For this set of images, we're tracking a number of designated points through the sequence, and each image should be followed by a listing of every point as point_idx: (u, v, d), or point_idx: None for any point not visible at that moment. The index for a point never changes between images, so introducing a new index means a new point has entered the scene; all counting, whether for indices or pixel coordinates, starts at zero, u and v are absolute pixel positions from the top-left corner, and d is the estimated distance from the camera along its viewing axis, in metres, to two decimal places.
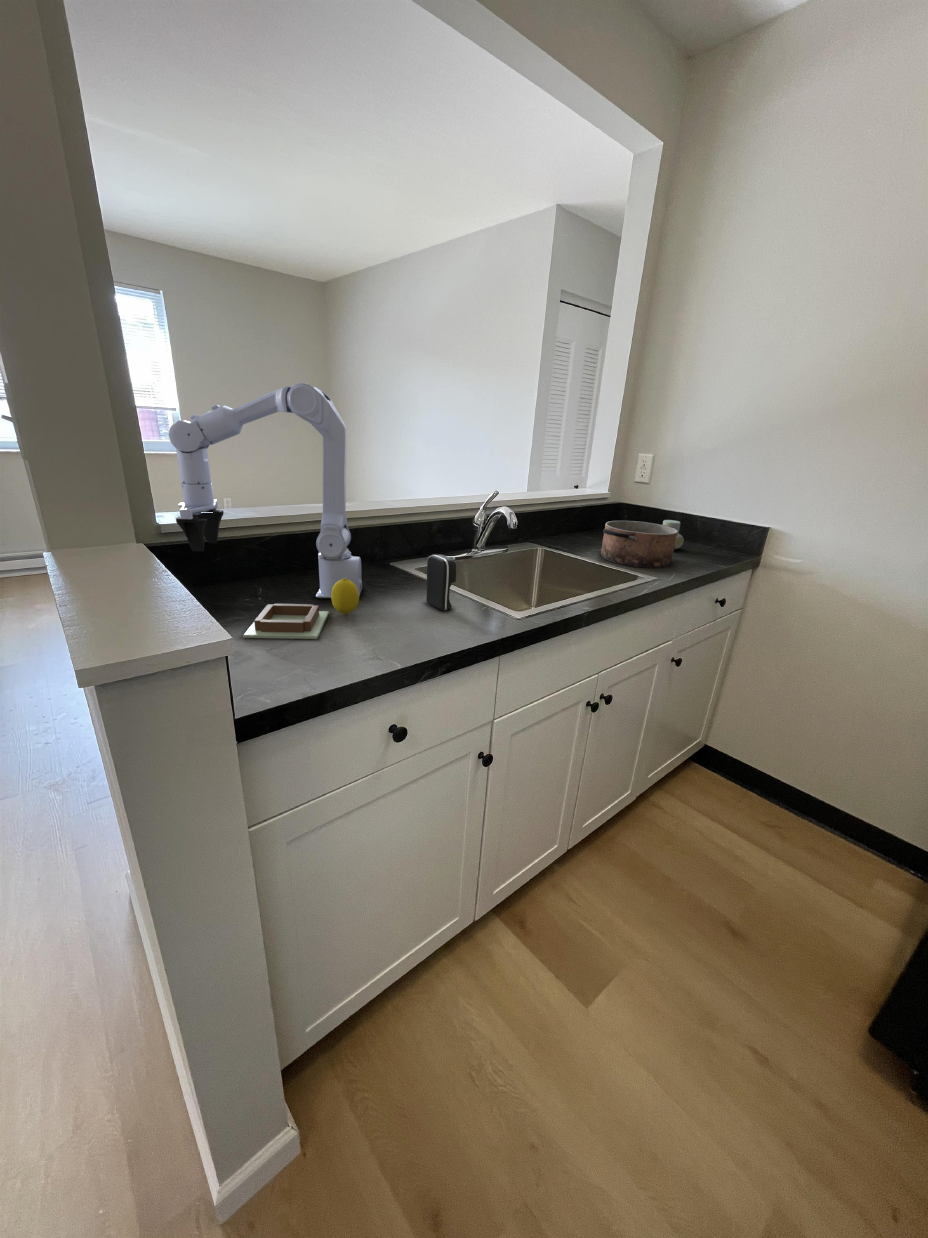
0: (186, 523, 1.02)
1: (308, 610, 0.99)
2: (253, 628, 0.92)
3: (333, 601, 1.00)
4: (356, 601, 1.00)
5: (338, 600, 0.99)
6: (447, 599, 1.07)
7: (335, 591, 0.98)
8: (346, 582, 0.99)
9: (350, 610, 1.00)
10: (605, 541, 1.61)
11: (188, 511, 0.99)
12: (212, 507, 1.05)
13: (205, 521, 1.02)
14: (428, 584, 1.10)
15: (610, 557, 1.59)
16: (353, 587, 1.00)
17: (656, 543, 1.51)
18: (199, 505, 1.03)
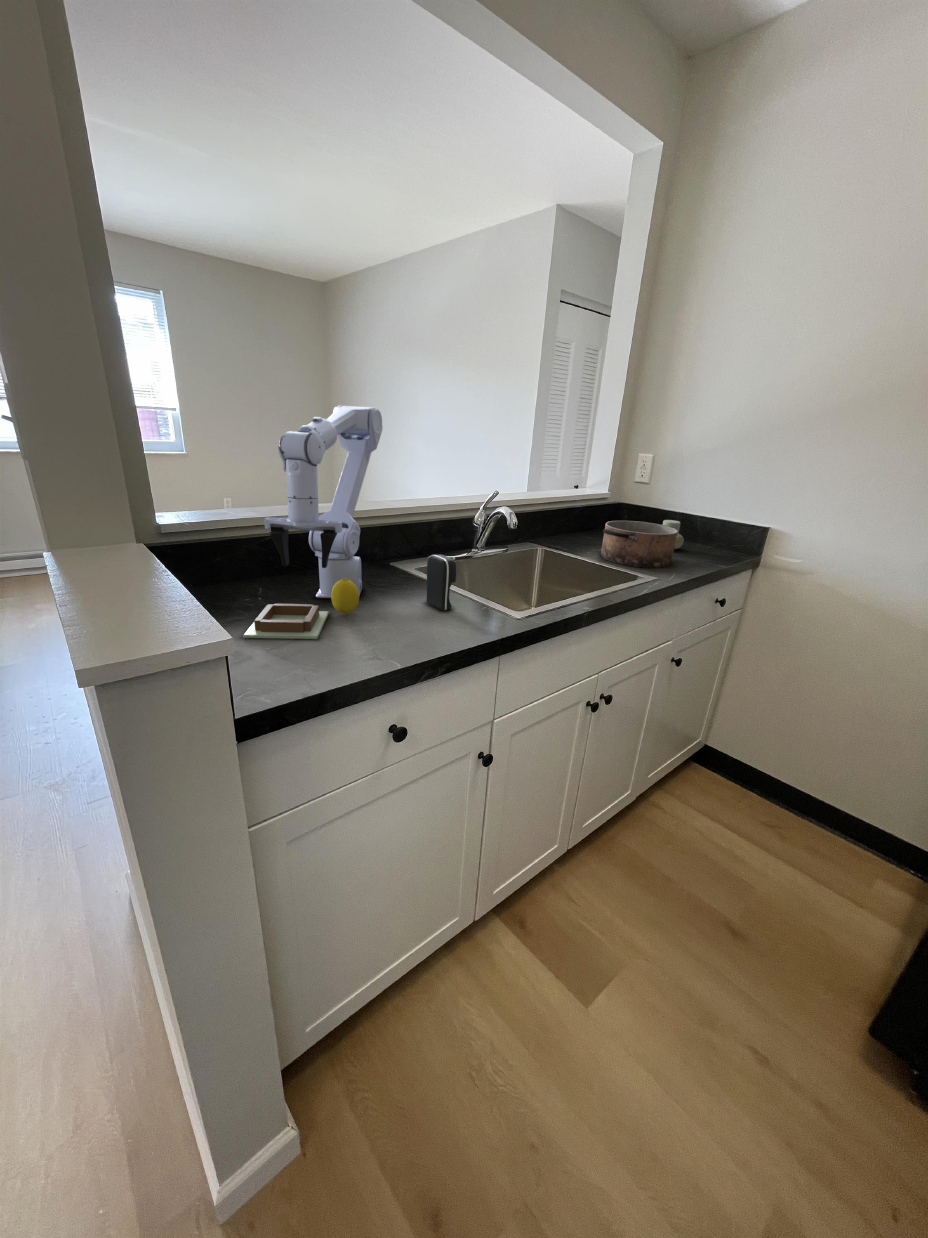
0: None
1: (308, 610, 0.99)
2: (253, 628, 0.92)
3: (333, 601, 1.00)
4: (356, 601, 1.00)
5: (338, 600, 0.99)
6: (447, 599, 1.07)
7: (335, 591, 0.98)
8: (346, 582, 0.99)
9: (350, 610, 1.00)
10: (605, 541, 1.61)
11: (341, 523, 0.99)
12: None
13: None
14: (428, 584, 1.10)
15: (610, 557, 1.59)
16: (353, 587, 1.00)
17: (656, 543, 1.51)
18: (318, 519, 0.99)
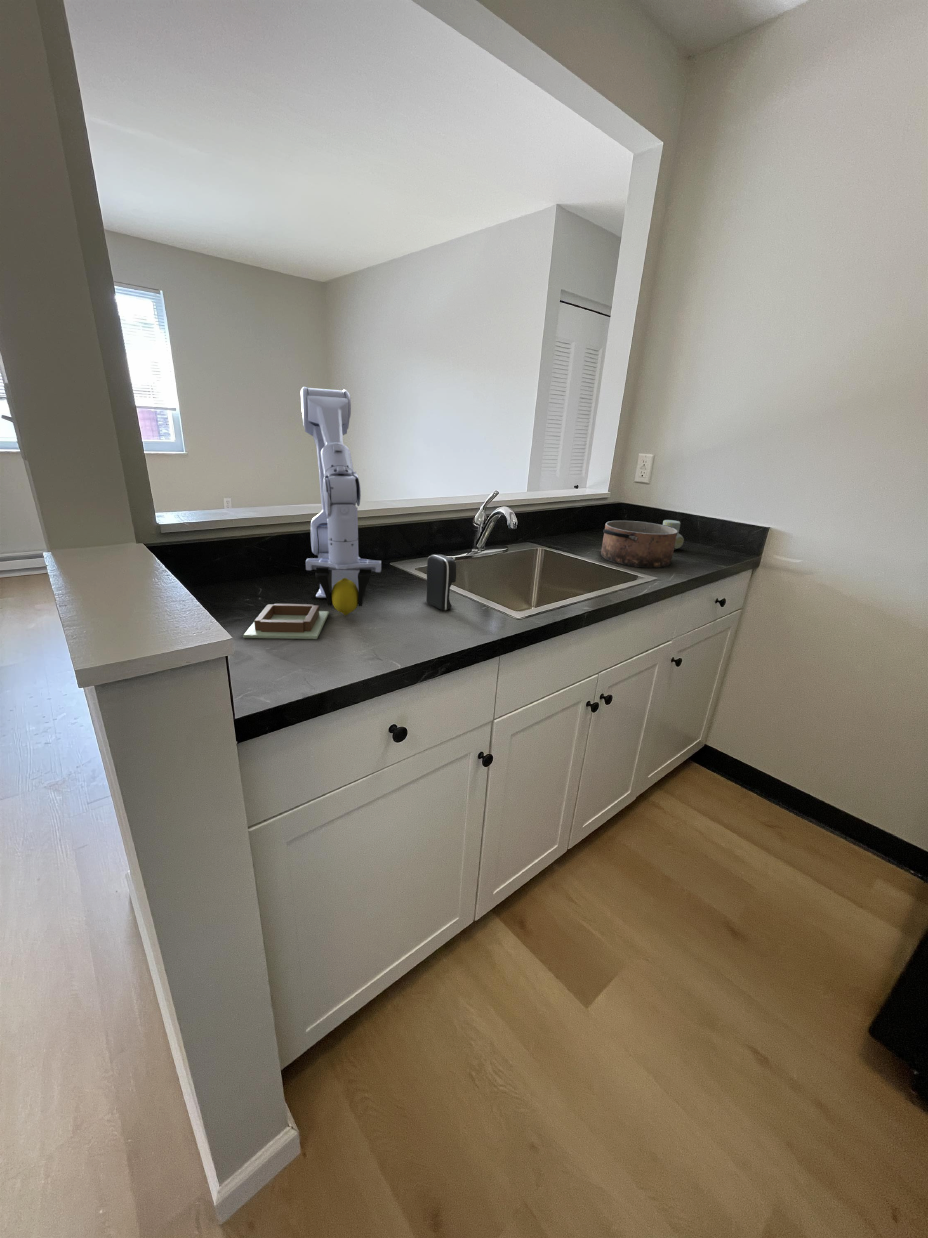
0: None
1: (308, 610, 0.99)
2: (253, 628, 0.92)
3: (333, 601, 1.00)
4: (356, 601, 1.00)
5: (338, 600, 0.99)
6: (447, 599, 1.07)
7: (335, 591, 0.98)
8: (346, 582, 0.99)
9: (350, 610, 1.00)
10: (605, 541, 1.61)
11: None
12: None
13: None
14: (428, 584, 1.10)
15: (610, 557, 1.59)
16: (354, 587, 1.00)
17: (656, 543, 1.51)
18: None
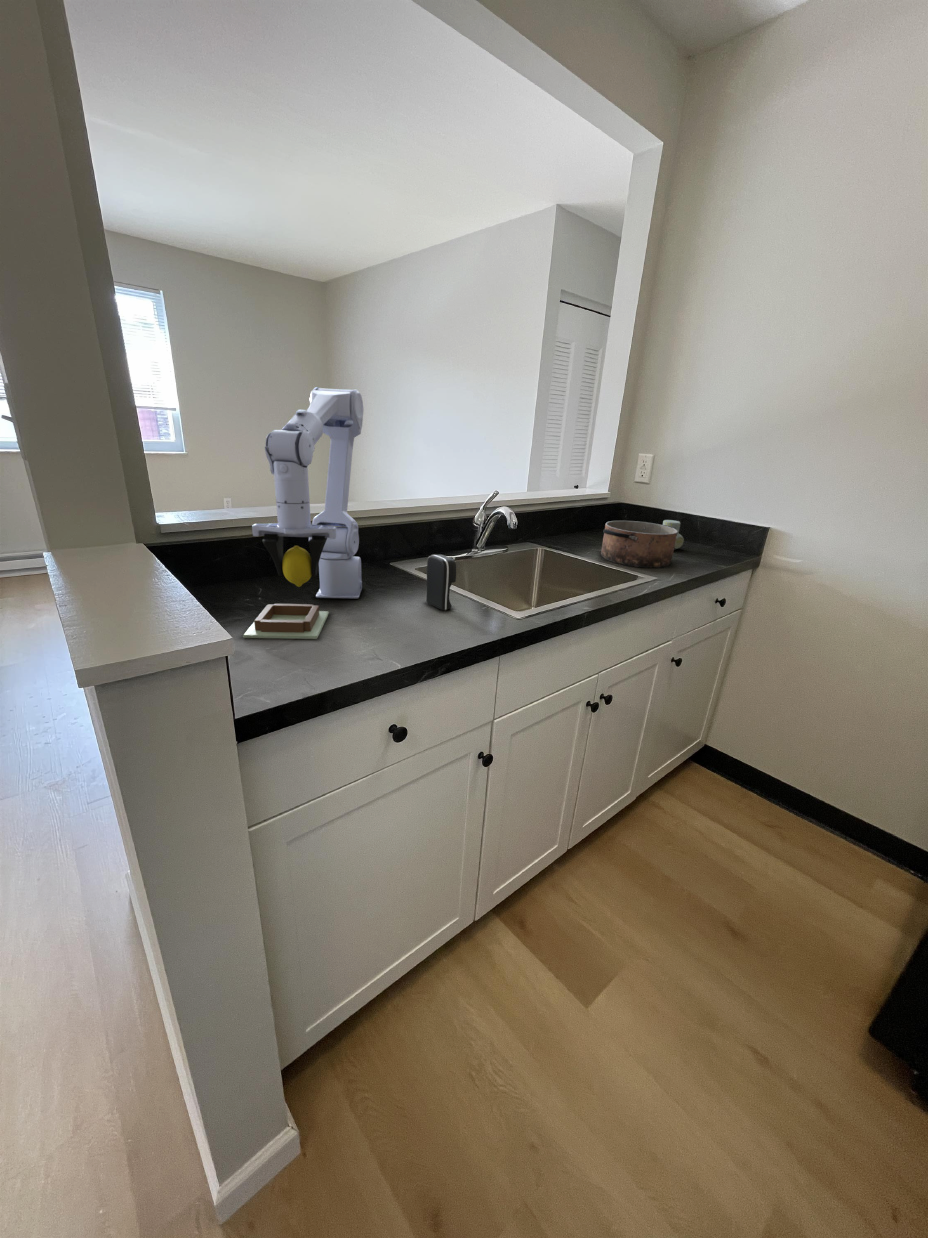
0: None
1: (308, 610, 0.99)
2: (253, 628, 0.92)
3: (283, 570, 0.92)
4: (309, 571, 0.92)
5: (289, 569, 0.91)
6: (447, 599, 1.07)
7: (286, 559, 0.91)
8: (298, 550, 0.91)
9: (303, 581, 0.92)
10: (605, 541, 1.61)
11: (335, 528, 0.92)
12: None
13: None
14: (428, 584, 1.10)
15: (610, 557, 1.59)
16: (306, 555, 0.92)
17: (656, 543, 1.51)
18: (310, 524, 0.92)
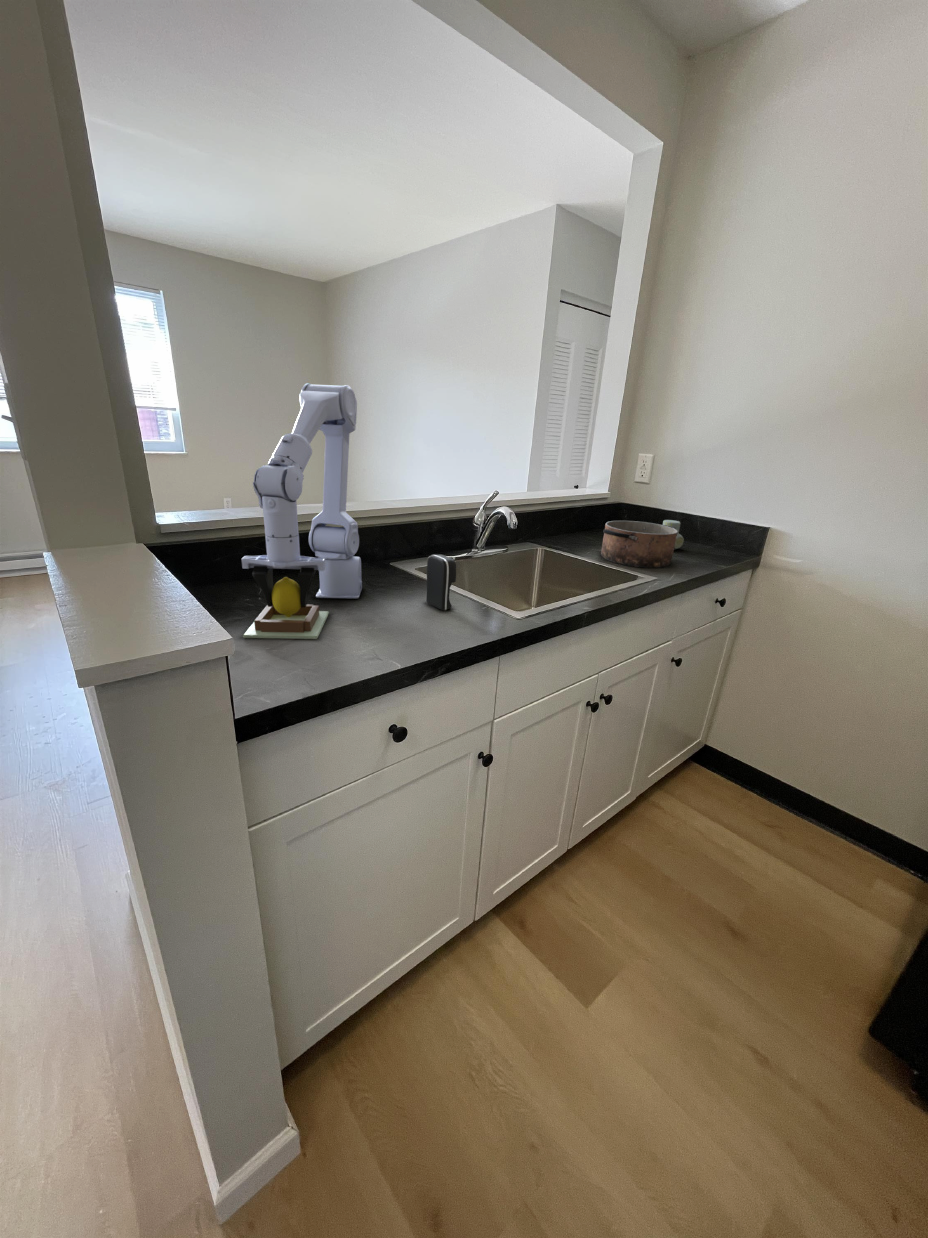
0: None
1: (308, 610, 0.99)
2: (253, 628, 0.92)
3: (273, 602, 0.92)
4: (298, 602, 0.93)
5: (278, 601, 0.91)
6: (447, 599, 1.07)
7: (275, 591, 0.91)
8: (287, 582, 0.92)
9: (292, 612, 0.93)
10: (605, 541, 1.61)
11: (325, 560, 0.93)
12: None
13: None
14: (428, 584, 1.10)
15: (610, 557, 1.59)
16: (295, 586, 0.92)
17: (656, 543, 1.51)
18: (300, 556, 0.92)
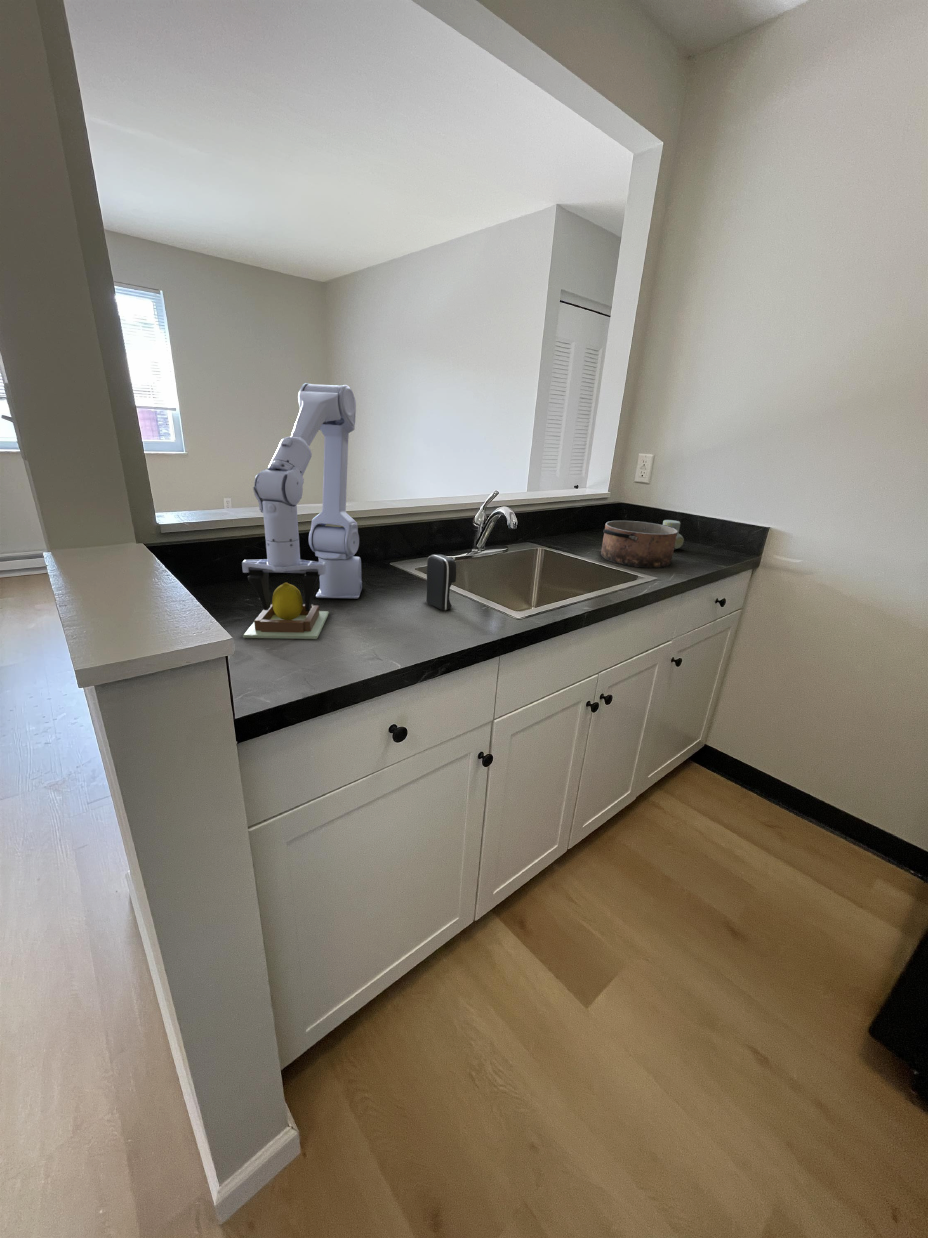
0: None
1: None
2: (253, 628, 0.92)
3: (273, 607, 0.93)
4: (298, 607, 0.93)
5: (279, 607, 0.92)
6: (447, 599, 1.07)
7: (275, 596, 0.92)
8: (287, 587, 0.92)
9: (292, 617, 0.94)
10: (605, 541, 1.61)
11: (325, 564, 0.93)
12: None
13: None
14: (428, 584, 1.10)
15: (610, 557, 1.59)
16: (296, 592, 0.93)
17: (656, 543, 1.51)
18: (300, 560, 0.93)
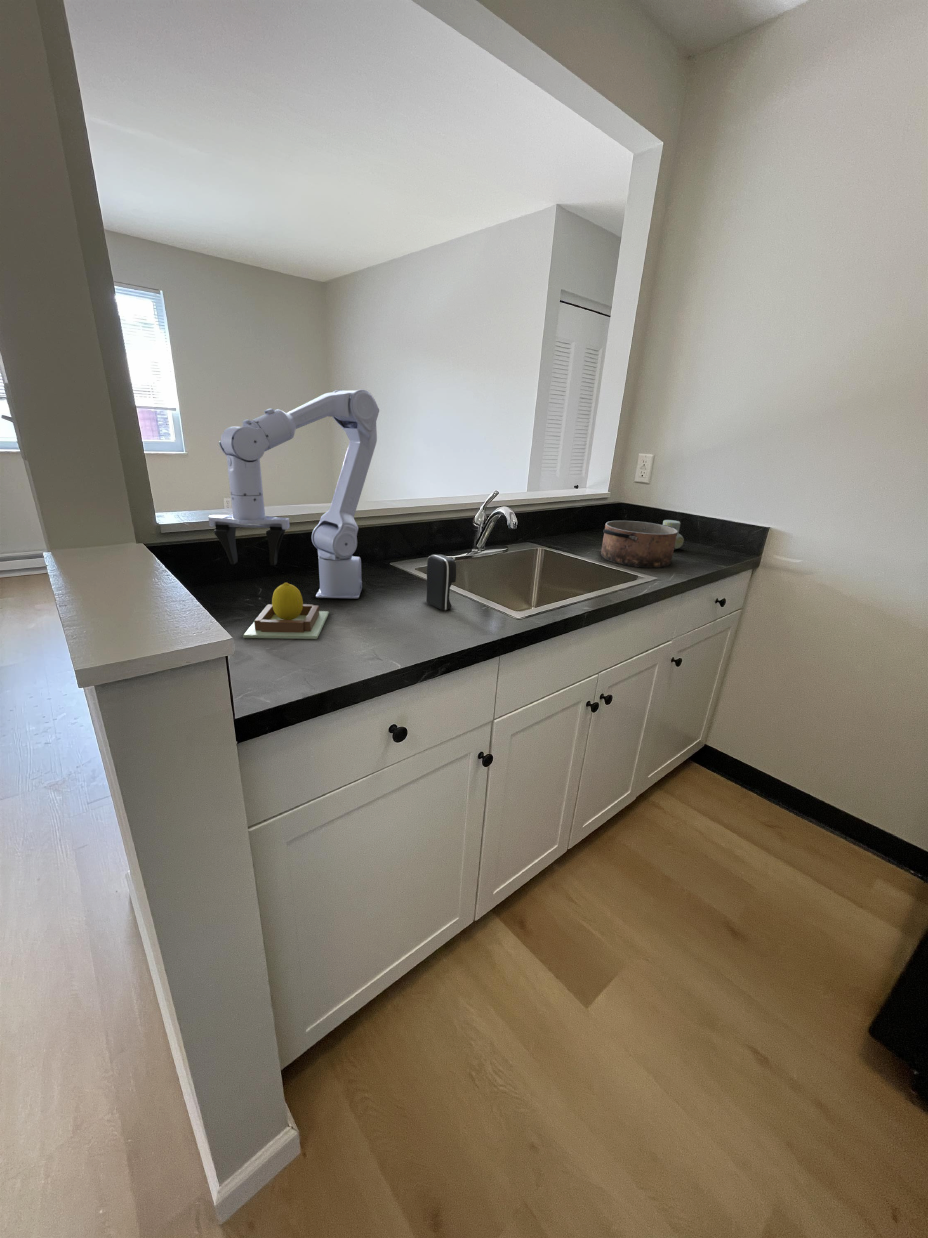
0: None
1: (308, 610, 0.99)
2: (253, 628, 0.92)
3: (273, 607, 0.93)
4: (298, 607, 0.93)
5: (279, 607, 0.92)
6: (447, 599, 1.07)
7: (275, 596, 0.92)
8: (287, 587, 0.92)
9: (292, 617, 0.94)
10: (605, 541, 1.61)
11: None
12: None
13: None
14: (428, 584, 1.10)
15: (610, 557, 1.59)
16: (296, 592, 0.93)
17: (656, 543, 1.51)
18: (265, 516, 0.97)
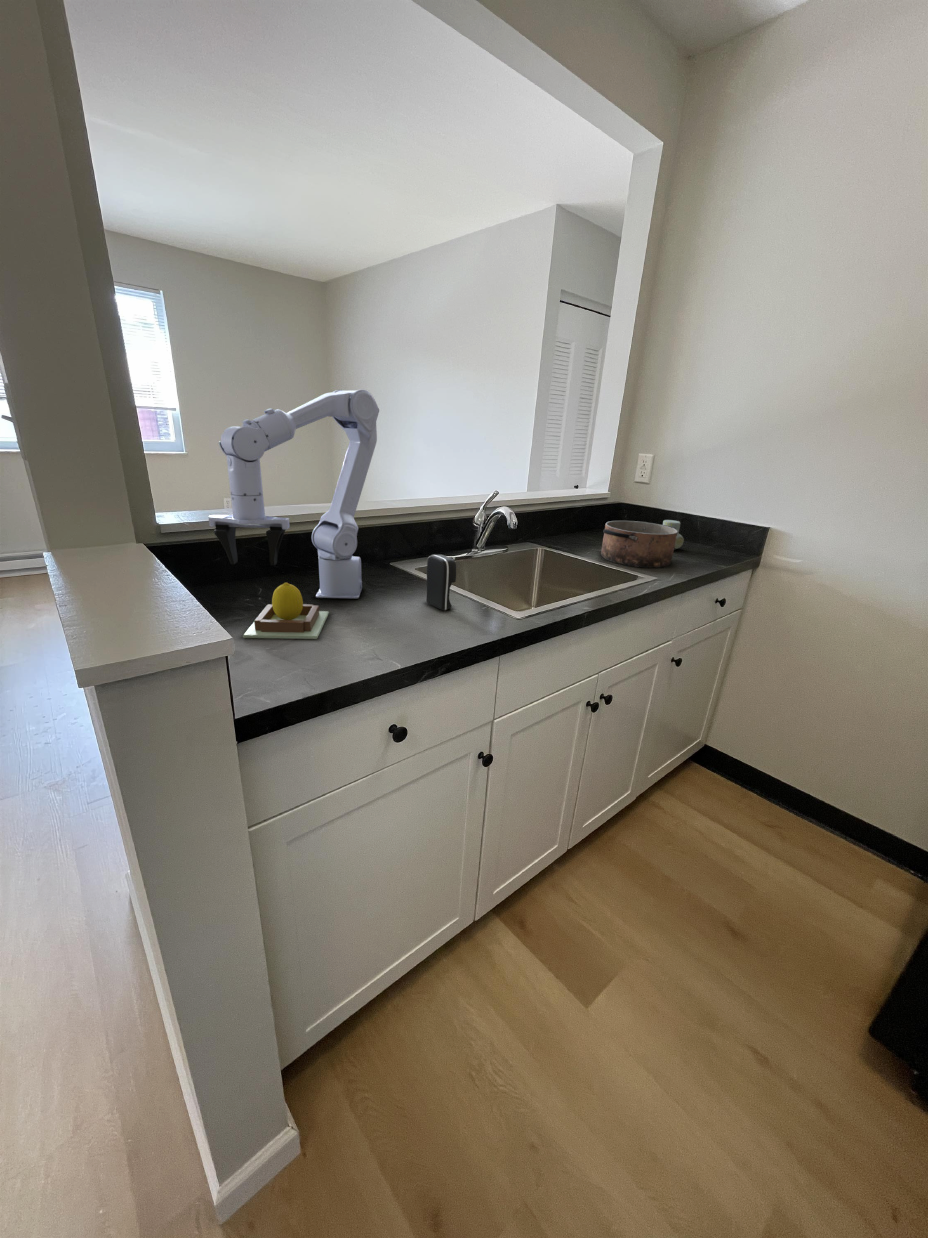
0: None
1: (308, 610, 0.99)
2: (253, 628, 0.92)
3: (273, 607, 0.93)
4: (298, 607, 0.93)
5: (279, 607, 0.92)
6: (447, 599, 1.07)
7: (275, 596, 0.92)
8: (287, 587, 0.92)
9: (292, 617, 0.94)
10: (605, 541, 1.61)
11: None
12: None
13: None
14: (428, 584, 1.10)
15: (610, 557, 1.59)
16: (296, 592, 0.93)
17: (656, 543, 1.51)
18: (265, 516, 0.97)
